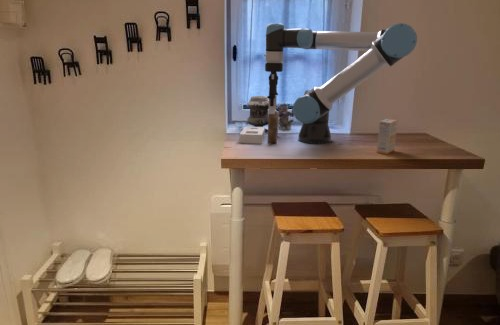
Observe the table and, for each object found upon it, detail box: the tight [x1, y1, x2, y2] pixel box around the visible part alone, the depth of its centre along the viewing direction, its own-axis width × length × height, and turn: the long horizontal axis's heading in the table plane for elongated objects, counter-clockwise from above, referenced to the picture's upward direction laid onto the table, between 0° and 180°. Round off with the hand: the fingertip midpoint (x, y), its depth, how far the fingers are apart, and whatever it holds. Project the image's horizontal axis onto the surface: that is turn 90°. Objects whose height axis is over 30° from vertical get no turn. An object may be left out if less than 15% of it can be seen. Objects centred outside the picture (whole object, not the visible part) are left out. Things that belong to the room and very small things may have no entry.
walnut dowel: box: [267, 110, 278, 145], centre depth 165 cm, size 4×4×14 cm
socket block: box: [239, 126, 266, 145], centre depth 174 cm, size 10×20×4 cm, turn 174°
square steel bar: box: [277, 111, 280, 138], centre depth 179 cm, size 4×4×12 cm
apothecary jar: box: [247, 95, 269, 133], centre depth 191 cm, size 12×12×18 cm
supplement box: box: [376, 118, 399, 155], centre depth 151 cm, size 8×5×13 cm, turn 141°
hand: (272, 111), depth 164 cm, fingers open, 13 cm apart
